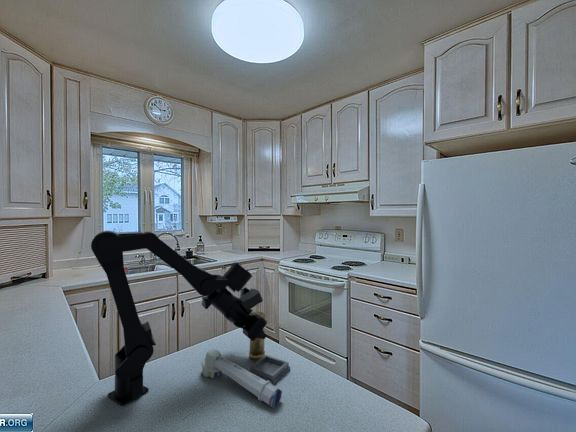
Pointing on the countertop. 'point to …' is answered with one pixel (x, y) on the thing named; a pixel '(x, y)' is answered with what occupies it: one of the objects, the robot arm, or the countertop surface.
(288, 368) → the shallow square tray
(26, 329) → the countertop surface
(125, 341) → the robot arm
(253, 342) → the brass domed cylinder
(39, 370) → the countertop surface
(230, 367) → the white long piece
